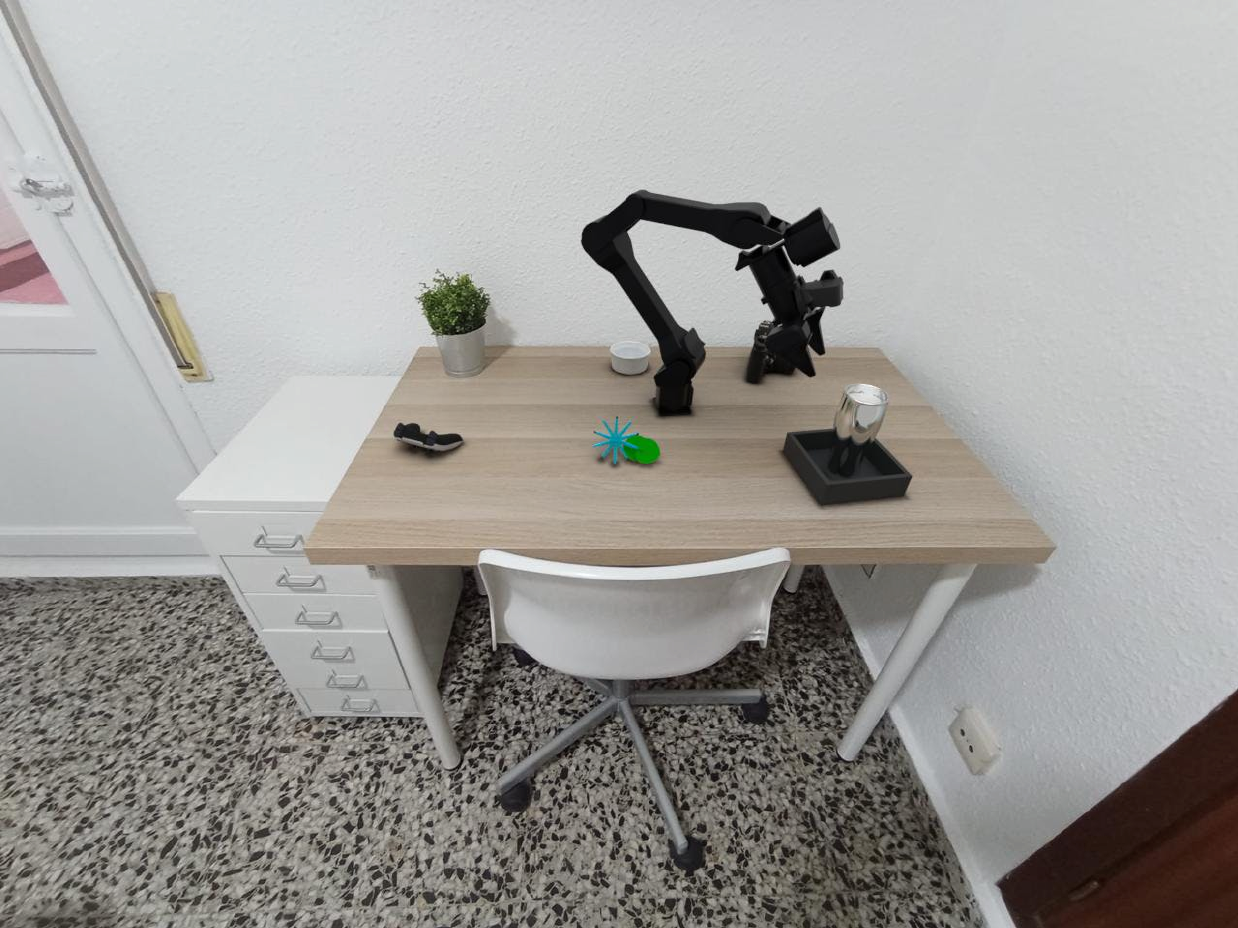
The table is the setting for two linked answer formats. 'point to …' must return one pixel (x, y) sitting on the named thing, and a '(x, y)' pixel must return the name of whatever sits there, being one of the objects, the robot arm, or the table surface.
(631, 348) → the ramekin
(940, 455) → the table surface
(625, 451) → the stick construction toy
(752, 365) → the film camera
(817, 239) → the robot arm
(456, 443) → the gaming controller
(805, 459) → the bin
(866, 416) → the metal tumbler
